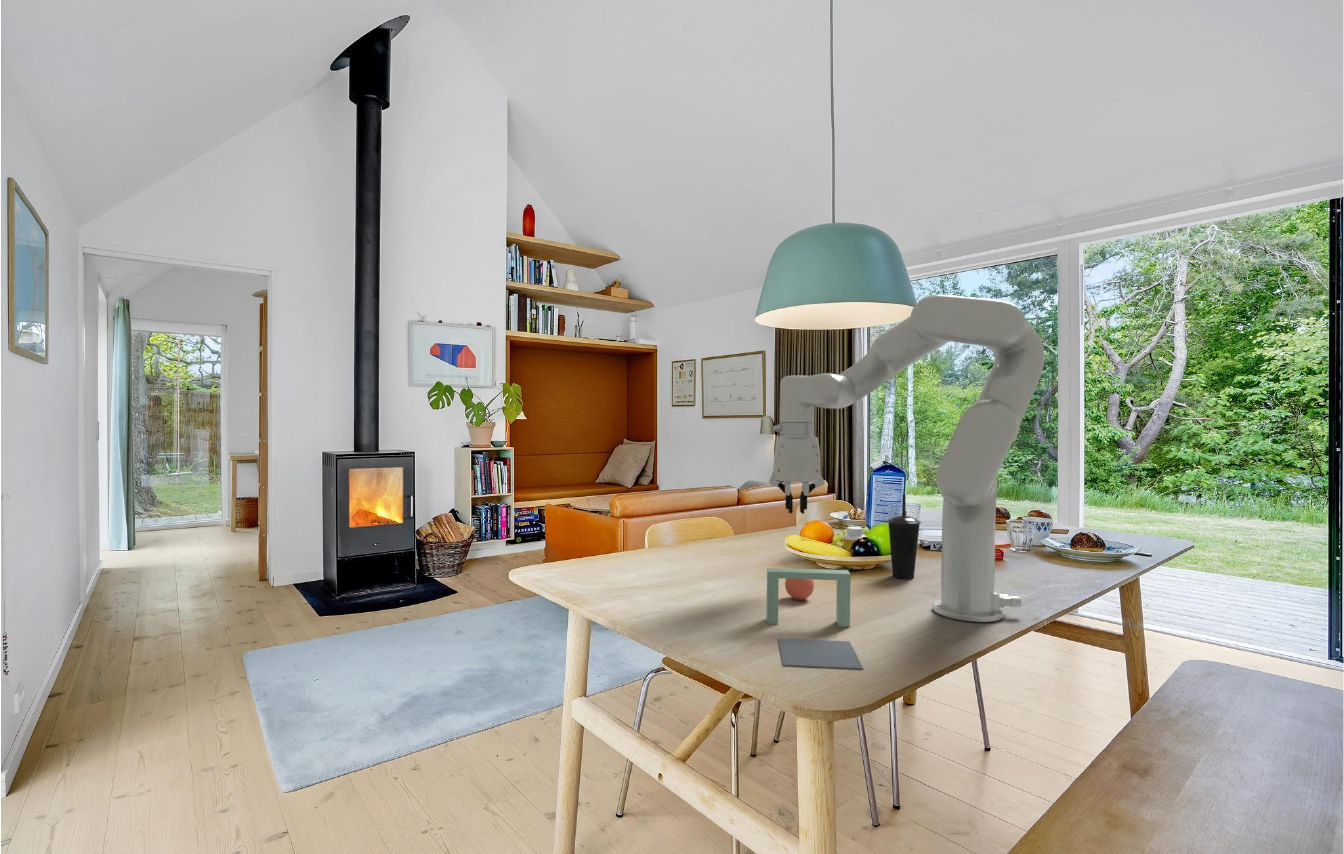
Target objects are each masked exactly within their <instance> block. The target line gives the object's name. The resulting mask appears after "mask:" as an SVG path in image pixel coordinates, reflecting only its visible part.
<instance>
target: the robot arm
mask: <svg viewBox="0 0 1344 854" xmlns="http://www.w3.org/2000/svg"><path fill="white" fill-rule="evenodd" d="M949 342H952V343H953V342H954V343H957V344H958V343H960V344H965V345H966V344H967V345H973V346H975V345H976V346H982V347H985V348H986V349H988V350H990V351H991V352H992V354H993V357H994V359H993V365H992V367H991V369H990V372H989V373H988V376H987V378H986V379H985V383H984V385H983V387H982V390H981V392H980V395H979V396H978V398H977V400H976V402H974V403H973V404H971V405H970V406H969V407H967V408H966V410H965V411H964V412H963V413H962V415H961V416H960V419H959V421H958V422H957V425H956V427H955V428H954V431H953V433H952V436H951V439H949V442H948V445H947V446H946V450H945V452H944V454H943V456H942V459H941V460H940V462H939V466H938V467H937V469H936V474H935V484H936V488H937V490H938V492H939V494H940V495H941V497H943V498H942V499H943V500H942V516H941V517H942V519H941V521H942V522H941V569H940V570H941V575H940V576H941V579H940V581H941V583H940V584H941V587H940V589H941V591H940V599H937V600H935V601H934V602H932V610H933V611H934V612H935V613H937V614H938V615H940V616H943V617H946V618H949V619H953V620H958V621H964V622H975V623H989V622H990V623H991V622H997V621H1000V620H1002V619H1003V618H1004V611H1003V610H1002V609H1003V608H1005V607H1011V608H1020V607H1022V599H1021V597H1020V596H1009V595H1008V594H1000V593H998V592H997V591H996V590H995V565H996V563H995V561H996V554H995V553H996V552H995V551H996V549H995V548H996V521H997V520H996V519H997V518H996V517H997V514H996V511H997V495H998V494H997V493H998V474H999V472H1000V469H1001V468H1002V465H1003V463H1004V460H1005V458H1006V456H1007V455H1008V453H1009V451H1010V448H1011V445H1012V444H1013V442H1014V441H1015V439H1016V438H1017V436H1018V434H1019V431H1020V427H1021V424H1022V421H1023V418H1024V417H1025V414H1026V412H1027V410H1028V408H1029V406H1030V403H1031V400H1032V399H1033V396H1034V393H1035V392H1036V389H1037V386H1038V385H1039V381H1040V380H1041V377H1042V373H1043V371H1044V366H1045V350H1044V349H1045V348H1044V344H1043V342H1042V339H1041V337H1040V335H1039V334H1038V332H1037V331H1036V329H1035V328H1034V327H1033V326H1032V324H1030V322H1029V321H1028V320H1027V318H1026V315H1025V313H1024V312H1023V311H1022V309H1020V308H1019V306H1017V305H1016V304H1014V303H1011V302H1009V301H1006V300H1001V299H999V300H998V299H990V298H979V297H978V298H977V297H968V296H959V295H950V294H949V295H948V294H931V295H927V296H925V297H923V298H921V299H920V300H919V301H918V302H917V303H916V304H915V305H914V306H913V308H912V310H911V312H910V315H909V316H908V317H907V318H906V319H905V318H904V320H903V321H901V322H899V323H897V324H896V325H895V326H893V327H892V328H890V329H888V330H887V331H885V332H884V333H882V334H880V335H879V336H878V337H876V338H875V339H874V341H873V342H872V343H871V346H870V348H869V350H868V352H866V354H865V355H864V356H863V357H862V358H861V359H859V361H857V362H855V363H853V365H852V366H850V367H849V368H846V369H845V370H844V371H842V372H840V373H839V374H836V373H829V372H824V373H818V374H812V375H798V374H797V375H795V374H794V375H786V376H784V377H782V378H781V380H780V388H779V389H780V393H779V394H780V396H779V397H780V398H779V401H780V405H779V407H780V408H779V411H780V414H779V415H780V416H779V424H776V425H773V432H777V433H779V436H776V441H775V446H774V453H773V471H772V473H771V475H770V478H769V481H768V483H769V484H770V485H771V486H774V487H776V488H779V489H780V490H781V492H782V493H783V494H784V495H785V510H787V511H788V513H789V514H792V513H793V510H794V509H793V505H794V504H793V503H794V501H793V499H794V498H793V497H794V496H793V494H792V492H791V488H792V487H791V483H792V482H793V483H794V482H795V483H796V482H797V483H799V482H800V483H801V484H802V488H801V489H802V491H800V493H801V494H800V495H799V513H801V515H802V514H803V515H804V514H805V510H807V511H808V496H809V494H810V493H811V492H812V491H813V490H815V489H817V488H819V487H821V486H824V485H825V480H824V478H823V476H822V475H823V474H822V473H821V470H822V469H821V451H820V443H819V438H818V436H817V437H816V436H815V407H816V408H823V409H845V408H847V407H849V406H851V405H853V404H854V403H856V402H858V401H860V400H861V399H863V398H865V397H866V396H868V395H870V394H871V393H873V392H874V391H876V390H877V389H879V388H880V387H882V386H883V385H884V384H885V383H887V382H889V381H890V380H891V379H893V378H894V377H895V376H896V375H898V374H899V373H901V372H902V371H903V370H906V368H909V367H910V366H911V365H913V364H915V363H916V362H918V361H919V360H922V359H923V358H925V357H926V356H928V355H929V354H930V353H933V352H934V351H936V350H938V349H939V348H941V347H942V346H944V345H946V344H947V343H949ZM782 482H783V483H782Z"/></svg>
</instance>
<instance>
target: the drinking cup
mask: <svg viewBox="0 0 1344 854" xmlns="http://www.w3.org/2000/svg"><path fill="white" fill-rule="evenodd" d="M906 500H907V499H906V494H904V493H902V511H901V512H902V514H901V515H896V516H893V517H891V518H889V519H887V521H886V522H887V523H888V532H889V533H888V534H889V536H888V537H889V545H890V559H891V571H892V577H893V578H895V579H899V580H913V579H914V578H915V572H916V571H915V570H916V569H915V567H916V561H917V560H916V559H917V550H918V543H919V542H918V541H919V534H920V533H919V532H920V525H921V523H922V522H921V521H920V520H918V519H917V518H914V517H912V516H910V515H906V508H907V507H906Z"/></svg>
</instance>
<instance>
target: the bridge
mask: <svg viewBox="0 0 1344 854" xmlns="http://www.w3.org/2000/svg"><path fill="white" fill-rule="evenodd" d="M779 579H785V580H786V579H813V580H821V581H826V580H827V581H836V613H835V616H836V618H835V619H836V624H837V626H838V627H842V628H844V627H845V628H847V627H848V628H850V627H851V573H850V571H849V570H848V569H818V568H817V569H816V568H788V567H786V568H785V567H766V624H767V625H768V624H769V625H778V624H779V587H780V586H779V584H780V583H779V581H780V580H779Z"/></svg>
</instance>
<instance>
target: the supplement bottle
mask: <svg viewBox="0 0 1344 854" xmlns="http://www.w3.org/2000/svg"><path fill="white" fill-rule="evenodd" d="M863 537H866V535H864V529H863V527H860V526H847V527H846V533H845V534H844V535H843V544H842V545H843V546H842V547H843V548H845V549H846V550H849V551H850V548H851V546H852V543H854V542H855V541H857V540H858V539H861V538H863ZM852 570H862V568H857V567H855V568H853V569H852Z"/></svg>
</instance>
